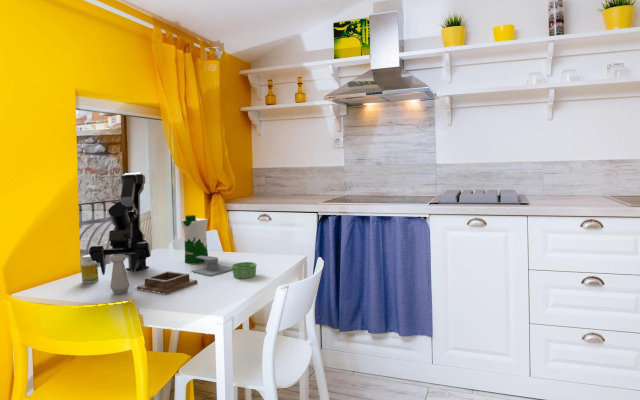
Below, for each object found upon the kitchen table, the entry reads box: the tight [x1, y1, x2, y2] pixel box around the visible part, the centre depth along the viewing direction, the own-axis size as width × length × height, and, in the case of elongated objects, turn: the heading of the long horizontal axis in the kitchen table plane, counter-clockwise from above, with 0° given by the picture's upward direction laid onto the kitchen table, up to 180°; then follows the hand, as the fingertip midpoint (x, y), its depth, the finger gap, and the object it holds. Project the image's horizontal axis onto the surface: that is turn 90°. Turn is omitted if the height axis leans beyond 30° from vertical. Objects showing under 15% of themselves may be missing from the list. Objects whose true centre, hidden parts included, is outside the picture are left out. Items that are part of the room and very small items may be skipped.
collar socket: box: [136, 270, 198, 295], centre depth 159 cm, size 14×14×4 cm
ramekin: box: [231, 261, 257, 280], centre depth 169 cm, size 9×9×4 cm
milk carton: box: [180, 214, 209, 265], centre depth 194 cm, size 9×9×20 cm
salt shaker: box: [110, 254, 131, 295], centre depth 152 cm, size 6×6×13 cm
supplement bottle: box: [80, 254, 99, 284], centre depth 168 cm, size 5×5×10 cm
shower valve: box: [191, 255, 233, 277], centre depth 179 cm, size 12×6×15 cm
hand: (118, 273), depth 151 cm, fingers open, 9 cm apart
